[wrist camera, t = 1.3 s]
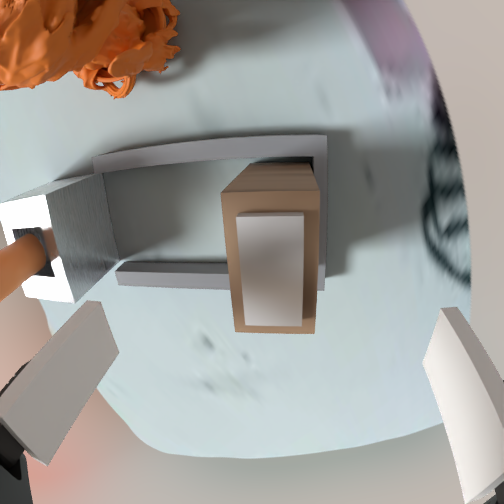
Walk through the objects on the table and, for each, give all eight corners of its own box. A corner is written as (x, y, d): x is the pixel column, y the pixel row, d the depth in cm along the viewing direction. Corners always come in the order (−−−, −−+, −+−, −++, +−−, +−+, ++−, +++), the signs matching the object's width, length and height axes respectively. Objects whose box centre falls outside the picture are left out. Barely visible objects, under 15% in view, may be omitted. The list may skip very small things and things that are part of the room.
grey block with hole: (52, 181, 26) (-3, 204, 19) (102, 172, 25) (44, 195, 18) (71, 259, 29) (26, 296, 22) (120, 260, 28) (75, 303, 21)
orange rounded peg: (18, 234, 20) (-32, 265, 14) (39, 232, 19) (-14, 266, 14) (28, 268, 21) (-17, 303, 16) (50, 269, 20) (3, 308, 15)
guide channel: (104, 154, 24) (91, 157, 22) (324, 134, 21) (327, 135, 20) (127, 275, 29) (118, 285, 27) (322, 278, 26) (324, 290, 24)
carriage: (250, 163, 23) (217, 195, 13) (308, 162, 22) (320, 193, 13) (256, 257, 26) (233, 338, 17) (309, 257, 25) (314, 340, 16)
